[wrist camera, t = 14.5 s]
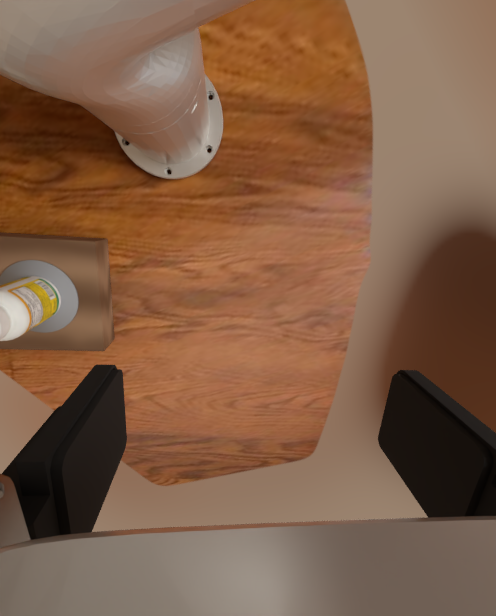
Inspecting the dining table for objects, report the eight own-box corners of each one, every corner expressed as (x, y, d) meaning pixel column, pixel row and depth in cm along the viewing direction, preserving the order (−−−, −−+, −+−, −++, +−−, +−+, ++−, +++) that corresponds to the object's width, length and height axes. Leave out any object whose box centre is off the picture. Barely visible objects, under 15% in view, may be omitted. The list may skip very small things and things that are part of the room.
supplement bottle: (64, 281, 36) (11, 305, 26) (60, 322, 37) (8, 358, 28) (15, 270, 35) (-58, 291, 26) (13, 312, 36) (-57, 347, 27)
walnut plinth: (-11, 231, 37) (-39, 234, 33) (107, 238, 39) (94, 241, 35) (9, 336, 41) (-15, 349, 37) (114, 338, 43) (103, 352, 39)
